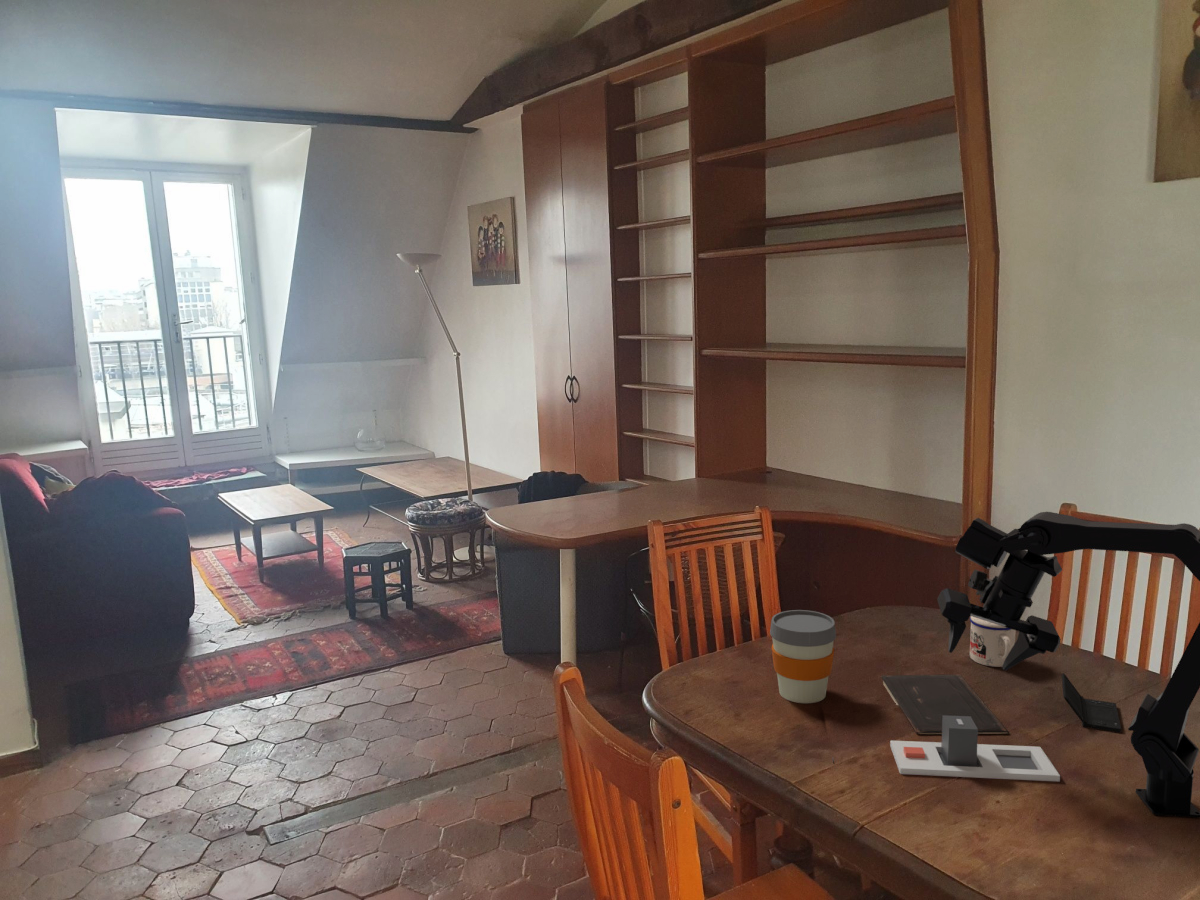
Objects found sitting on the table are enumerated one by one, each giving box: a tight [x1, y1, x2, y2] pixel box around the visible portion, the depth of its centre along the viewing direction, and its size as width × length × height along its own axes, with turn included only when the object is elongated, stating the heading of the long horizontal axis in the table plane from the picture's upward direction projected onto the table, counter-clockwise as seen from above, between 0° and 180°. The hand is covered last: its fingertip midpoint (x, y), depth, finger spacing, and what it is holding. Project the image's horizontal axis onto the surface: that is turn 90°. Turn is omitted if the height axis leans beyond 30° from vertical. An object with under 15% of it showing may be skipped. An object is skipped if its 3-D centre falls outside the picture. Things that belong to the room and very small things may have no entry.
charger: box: [941, 715, 979, 767], centre depth 141 cm, size 4×4×7 cm
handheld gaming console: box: [1061, 672, 1122, 734], centre depth 158 cm, size 12×7×10 cm
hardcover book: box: [880, 674, 1011, 735], centre depth 162 cm, size 16×23×2 cm
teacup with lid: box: [969, 616, 1017, 668], centre depth 181 cm, size 12×9×12 cm
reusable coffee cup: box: [769, 609, 837, 704], centre depth 170 cm, size 13×13×15 cm
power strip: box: [832, 740, 1061, 783], centre depth 142 cm, size 9×34×3 cm, turn 81°
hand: (976, 660), depth 146 cm, fingers open, 9 cm apart
